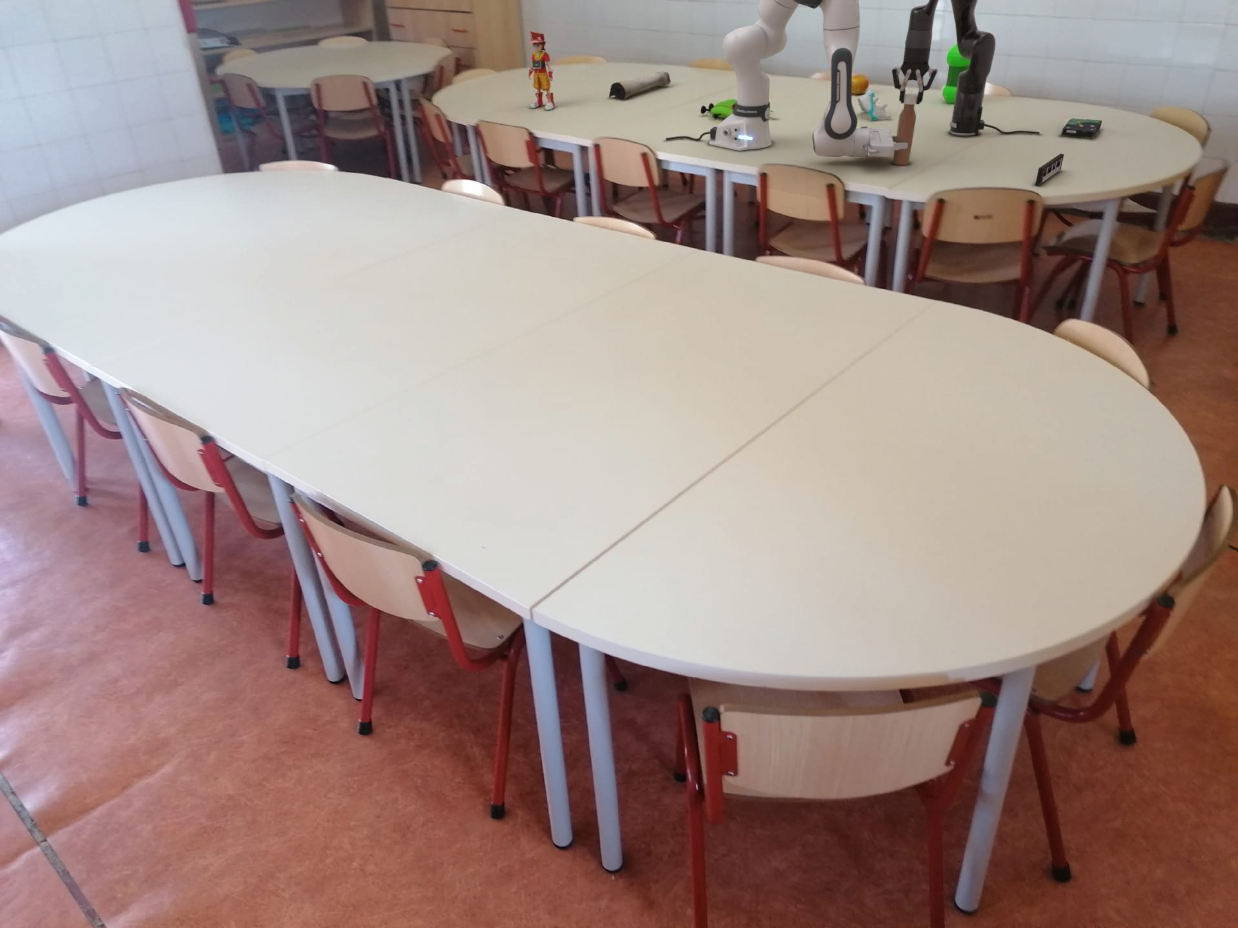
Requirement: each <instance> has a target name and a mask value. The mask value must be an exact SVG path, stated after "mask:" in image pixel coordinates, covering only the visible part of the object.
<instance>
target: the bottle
mask: <svg viewBox="0 0 1238 928" xmlns="http://www.w3.org/2000/svg"><path fill="white" fill-rule="evenodd" d="M915 105H916V104H912V105H910V104H904V103H903V108H902V110H901V111H900V113H899V115H898V120H897V121H898V122H897V129H896V134H895V135H896V141H895V142H894V143H902V142H907V143H908V147H907V149H900V150H894V155H893V156H892V164H894V165H896V166H906V165H909V164H910V158H911V153H912V146H913V140H914V132H915V126H916V120H917V114H916V109H915Z"/></svg>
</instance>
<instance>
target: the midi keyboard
mask: <svg viewBox="0 0 1238 928" xmlns="http://www.w3.org/2000/svg"><path fill="white" fill-rule="evenodd" d="M1064 157H1065V153H1059V154H1058V155H1056V156H1055V157H1052V159H1051V160H1049V161H1047V162H1045V164H1042V165H1041V166H1039V167H1038V169H1037V175H1036V179H1035V186H1040V185H1042V183H1044V182H1045V181H1047V180H1048V179H1049V178H1051V177H1052V176H1054V175H1055V174H1056V173H1058V172H1060V171H1061V170H1062V165H1063V161H1064Z"/></svg>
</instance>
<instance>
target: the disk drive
mask: <svg viewBox="0 0 1238 928" xmlns="http://www.w3.org/2000/svg"><path fill="white" fill-rule="evenodd" d="M1102 122H1103V120H1100V119H1088V118H1087V119H1084V118H1073V117H1072V118H1070V119H1069V120H1068V121H1067V122H1066V124H1065V125H1064V126H1063V128H1062V131H1061V136H1065V137H1073V138H1082V139H1085V138H1086V139H1094V138H1095V136H1096V135H1097V134H1098V132H1099V130H1100V129H1101V127H1102Z"/></svg>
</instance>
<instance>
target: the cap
mask: <svg viewBox="0 0 1238 928" xmlns="http://www.w3.org/2000/svg"><path fill="white" fill-rule="evenodd" d="M917 98H918V93H905V95H904V102H903V105H904V104H910V105H912V104H915V105H918V104H917Z"/></svg>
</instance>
